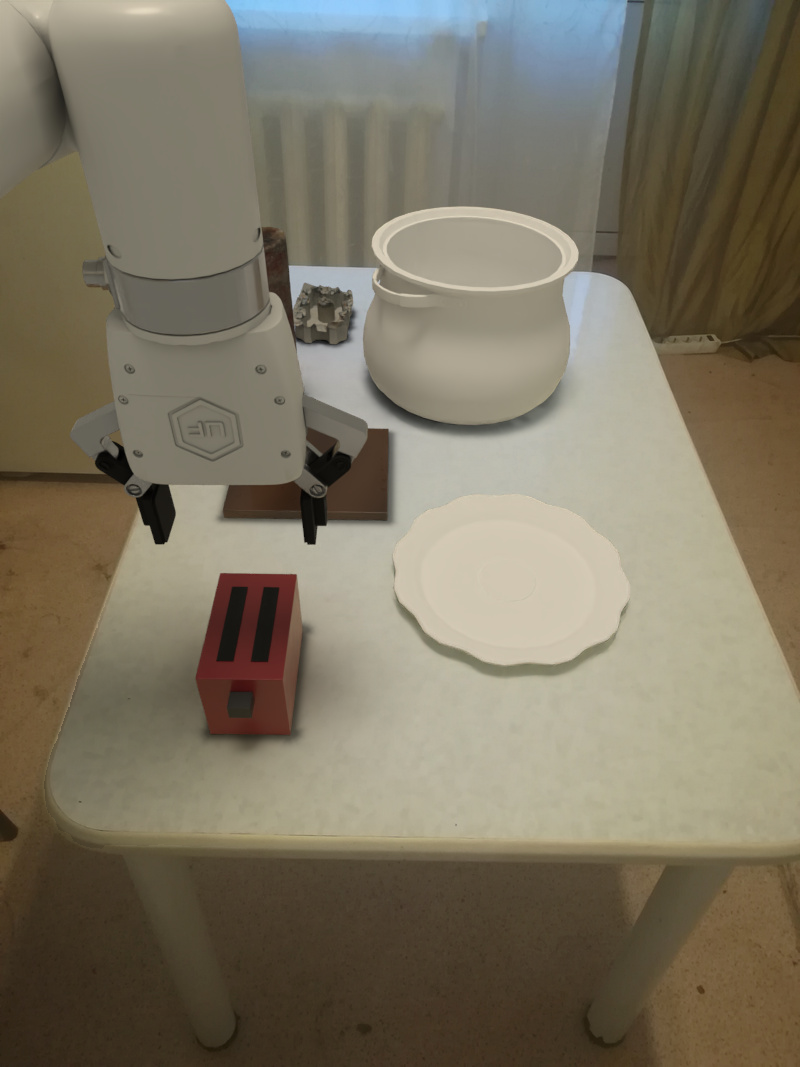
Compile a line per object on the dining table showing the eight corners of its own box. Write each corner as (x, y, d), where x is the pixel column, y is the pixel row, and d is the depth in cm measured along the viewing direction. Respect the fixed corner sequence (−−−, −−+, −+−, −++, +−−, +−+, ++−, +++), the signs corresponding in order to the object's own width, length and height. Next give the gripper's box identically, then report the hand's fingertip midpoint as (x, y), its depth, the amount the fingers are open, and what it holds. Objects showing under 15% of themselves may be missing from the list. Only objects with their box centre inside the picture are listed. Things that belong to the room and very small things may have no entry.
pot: (451, 467, 80) (464, 322, 68) (320, 370, 94) (312, 235, 82) (606, 388, 92) (639, 253, 81) (469, 312, 106) (481, 187, 94)
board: (223, 517, 73) (222, 510, 73) (245, 433, 84) (243, 425, 83) (387, 520, 74) (387, 512, 73) (388, 435, 84) (388, 428, 83)
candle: (273, 429, 84) (253, 254, 70) (223, 408, 87) (195, 236, 73) (314, 398, 89) (303, 228, 75) (266, 379, 92) (247, 212, 78)
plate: (451, 481, 78) (452, 469, 77) (649, 550, 72) (654, 537, 70) (350, 616, 65) (349, 603, 64) (583, 716, 58) (587, 704, 57)
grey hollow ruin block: (345, 347, 98) (345, 318, 95) (289, 343, 98) (286, 314, 95) (357, 308, 106) (357, 281, 103) (304, 305, 106) (303, 277, 103)
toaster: (206, 751, 55) (190, 695, 50) (231, 629, 63) (219, 571, 59) (288, 751, 55) (280, 696, 50) (302, 630, 63) (296, 573, 59)
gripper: (-8, 318, 35) (91, 571, 47) (361, 320, 35) (368, 571, 47) (45, 251, 41) (123, 493, 52) (365, 253, 41) (371, 493, 53)
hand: (239, 530), depth 50 cm, fingers open, 9 cm apart
